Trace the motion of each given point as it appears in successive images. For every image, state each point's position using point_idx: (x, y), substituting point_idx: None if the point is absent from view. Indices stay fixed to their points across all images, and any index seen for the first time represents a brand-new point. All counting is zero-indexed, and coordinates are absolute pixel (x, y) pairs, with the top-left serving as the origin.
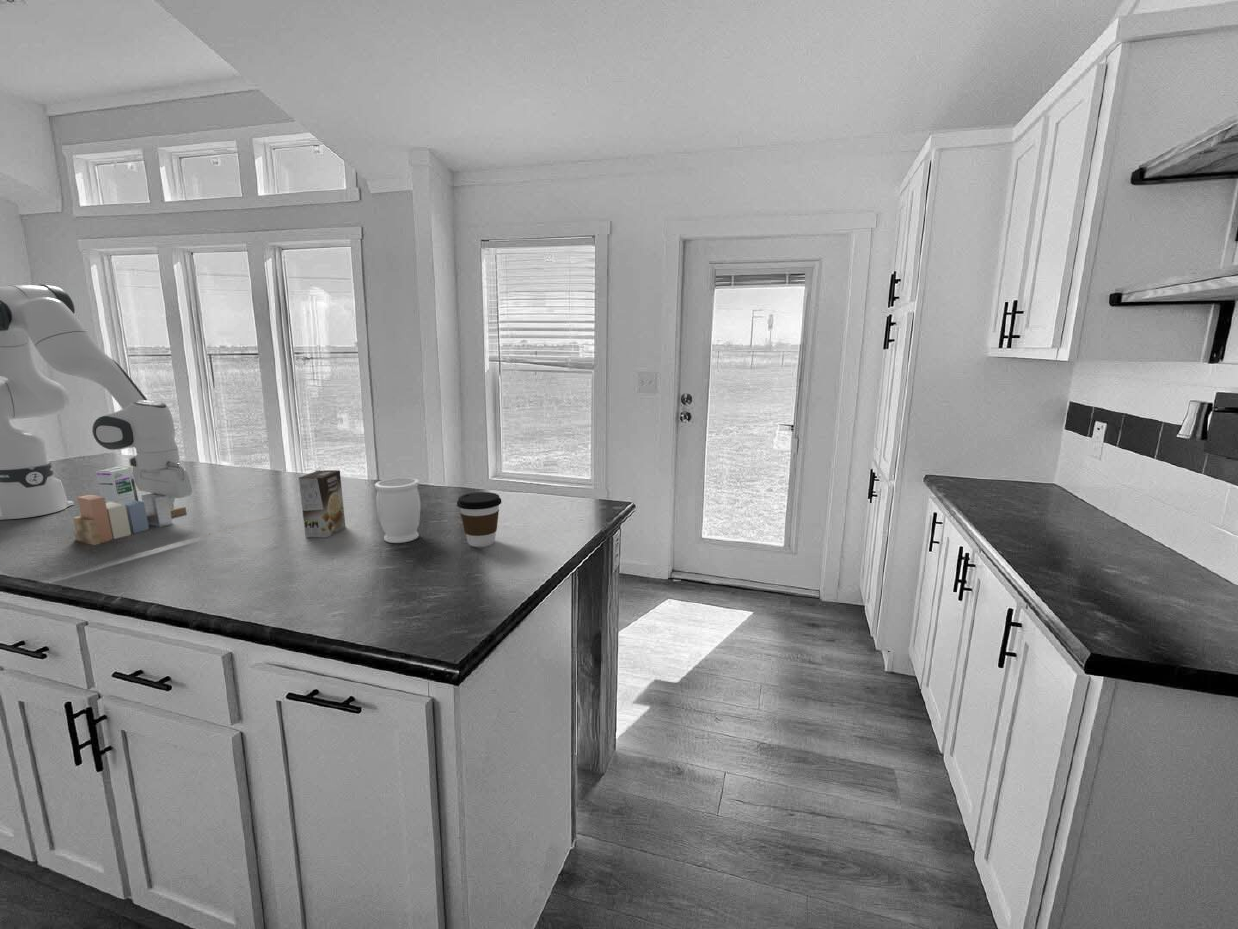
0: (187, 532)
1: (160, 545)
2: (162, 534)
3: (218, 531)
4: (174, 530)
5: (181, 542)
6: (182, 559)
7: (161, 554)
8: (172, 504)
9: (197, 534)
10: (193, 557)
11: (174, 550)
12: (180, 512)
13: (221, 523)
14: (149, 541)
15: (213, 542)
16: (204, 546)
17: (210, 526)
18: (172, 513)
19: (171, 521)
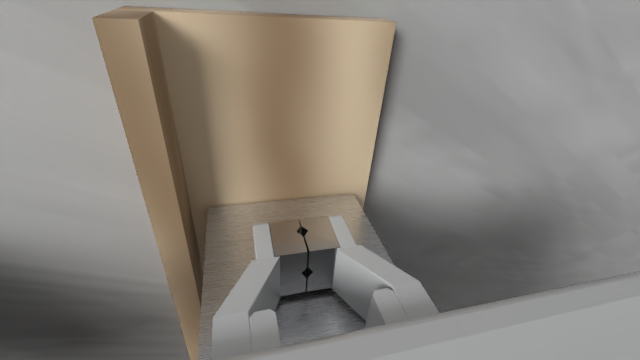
0: (471, 178)
1: (487, 270)
2: (391, 236)
3: (597, 108)
4: (390, 193)
5: (532, 232)
6: (614, 269)
7: (543, 285)
8: (352, 243)
9: (531, 170)
10: (634, 253)
11: (558, 262)
12: (160, 69)
13: (540, 9)
14: (420, 278)
15: (637, 183)
16: (625, 211)
17: (514, 78)
18: (169, 133)
19: (358, 205)
